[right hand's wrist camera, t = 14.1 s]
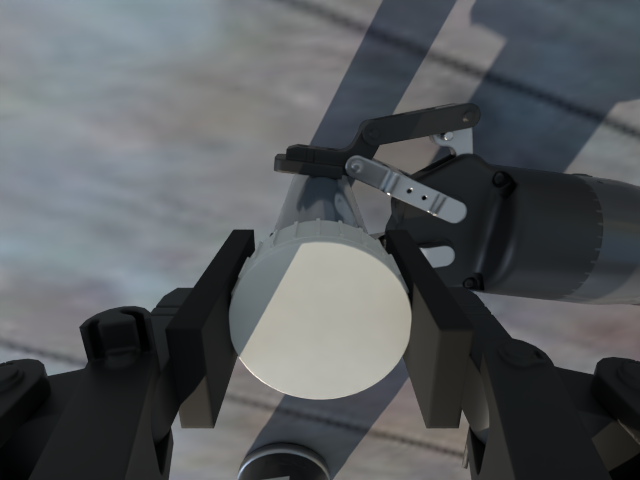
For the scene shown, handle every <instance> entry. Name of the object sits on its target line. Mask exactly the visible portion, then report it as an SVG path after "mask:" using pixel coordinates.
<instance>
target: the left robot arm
mask: <svg viewBox="0 0 640 480" xmlns="http://www.w3.org/2000/svg"><path fill="white" fill-rule="evenodd" d="M479 119H480V109H479V108H478V106H476V105H475V104H472V103H456V104H448V105H442V106H437V107H432V108H427V109H421V110H416V111H411V112H406V113H401V114H395V115H390V116H385V117H380V118H374V119H369V120H365V121H364V122H362V123H361V125H360V126H359V131H358V132H357V134H356V136H355V138H354V140H353V142H352V143H351V145H350V146H348V147H347V148H344V149H333V148H325V147H318V146H310V145H302V144H296V145H293V146H289V147H288V148H287V152H286V154H277V155H276V156H275V162H274V171H277V172H283V173H291V174H299V175H307V176H316V177H326V178H332V179H340V180H342V175H346V176H350V177H352V178H354V179H357V180H359V181H361V182H364V183H366V184H368V185H370V186H373V187H375V188H377V189H379V190H381V191H383V192H384V193H386V194H388V195H390V196H392V198H391V210H392V215H391V217H390V219H389V221H388V223H387V225H386V229H385V232H383V233H377V234H371V235H370V236H371V237H372V238H373V239H375V240H376V239H378V240H379V241H380V243H381V245H382V247H383V248H384V249H385V248H386V243H385V242H386V232H387V230H407V231H408V232H409V234H410V235H411V237H412V238H413V239H414V241H415V242H416V244H417V245H418V247H419V248H420V250H421V251H422V252H423V254H424V255H425V257H426V258H427V260H428V261H429V263H430V264H431V265H432V267H433V268H434V270H435V271H436V273H437V274H438V276H439V277H440V278H441V280H442V281H443V283H444V284H445V286H446V287H464V288H466V289H468V290H473V291H477V292H482V293H490V294H499V295H508V296H517V297H527V298H536V299H545V300H555V301H564V302H572V303H581V304H594V305H605V304H631V305H640V187H639V186H635V185H632V184H628V183H625V182H621V181H616V180H610V179H603V178H595V177H592V176H589V175H587V174H564V173H556V172H548V171H540V170H532V169H524V168H516V167H508V166H500V165H492V164H489V163H487V162H485V161H484V160H483V159H482V158H481V157H479V156H478V155H475V154H473V135H472V127H473V126H475V125H476V124H477V123H478V121H479ZM425 136H429V139H430V141H431V142H432V143H434V144H436V145H439V146H447V147H448V148H449V149H450V152H451V154H450V155H448V156H446V157H444V158H442V159H441V160H439V161H437V162H435V163H433V164H431V165H429V166H427V167H425V168H424V169H422V170H420V171H418V172H416V173H414V174H412V175H411V174H409V173H407V172H404V171H402V170H400V169H398V168H396V167H393V166H391V165H389V164H386V163H383V162H381V161H379V160H376V159H374V158H373V156H374V155H375V153H376V151H377V149H378V147H379V146H380V145H382V144H387V143H393V142H398V141H404V140H409V139H414V138H420V137H425ZM272 234H273V233H271V235H272ZM271 235H270V236H271ZM237 480H330V471H329V468H328V466H327V464H326V463H325V461H324V460H323V459H322V458H321V457H320V456H319V455H318V454H316V453H315V452H313V451H312V450H310V449H308V448H305V447H302V446H299V445H294V444H285V443H281V444H272V445H267V446H264V447H261V448H259V449H257V450H255V451H253V452H252V453H250V454H249V455H248V456H247V457H246V458H245V459H244V461H243V462H242V464H241V466H240V469H239V473H238V478H237Z"/></svg>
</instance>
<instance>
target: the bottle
mask: <svg viewBox="0 0 640 480" xmlns="http://www.w3.org/2000/svg"><path fill="white" fill-rule="evenodd" d="M317 218H320V221H334V222H338V221H339V220H340V221H342V223H343V224H347V225H350V226H352V227H355V228H357V229H359V227H360V228H362V229H363V232H365V233H366V234H368V233H367V230H366V227H365V225H364V222H363V219H362V216H361V214H360V211H359V208H358V206H357V203H356V200H355V198H354V195H353V192H352V190H351V187H350V184H349V181H348V179H347V176H346V175H342V180H340V179H332V178H326V177H316V176H307V175H299V174H295V175H294V177H293V180H292V183H291V185H290V188H289V191H288V194H287V196H286V199H285V202H284V204H283V207H282V210H281V213H280V215H279V218H278V221H277V224H276V226H275V229H274V231H275V230H277V229H278V230H279V231H280V230H282V229H283V228H286V227H288V226H291V225H294V223H295V222H297V221H298V223H302V222H306V221H316V219H317ZM273 234H274V232H273ZM273 234H272V235H273Z"/></svg>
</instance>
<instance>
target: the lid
mask: <svg viewBox="0 0 640 480" xmlns="http://www.w3.org/2000/svg"><path fill="white" fill-rule="evenodd" d="M238 277H239V278H238V280H237V282H236V284H235V287H234V289H233V291H232V293H231V297H232V299H231V303H230V307H229V324H230V334H231V341H232V343H233V346H234V348H235V351H236V352H237V354H238V356H239V358H240V359H241V361H242V362H243V363H244V365H245V366H246V367H247V368H248V369H249V370H250V372H251V373H252V374H253V375H255V376H256V377H257V378H258V379H260V380H261V381H262V382H264V383H265V384H267V385H269V386H270V387H272V388H274V389H276V390H278V391H280V392H283V393H286V394H289V395H292V396H296V397H301V398H308V399H334V398H340V397H345V396H349V395H352V394H355V393H358V392H360V391H362V390H365V389H367V388H369V387H370V386H372V385H374V384H376V383H377V382H378V381H380V380H381V379H383V378H384V377H385V376H386V375H387V374H388V373H389V372H390V371H391V370H392V369H393V368H394V367H395V366H396V364H397V363H398V362H399V361H400V359H401V357H402V356H403V354H404V352H405V350H406V348H407V345H408V343H409V338H410V329H411V318H412V308H411V303H410V300H409V297H408V294H407V293H409V290H408V288H407V286H406V283H405V281H404V279H403V277H402V275H401V273H400V271H399V268H398V266H397V264H396V262H395V260H394V258H393V256H392V254H389V255H388V253H387V252H386V251H385V249H384V248H383V247H382V245H381V243H380V241H379V240H378V239H376V240H375V239H373V238H372V237H371V236H370V235H368V234H366V233H365V232H363V229H362V228H360V227H359V229H357V228H355V227H352V226H350V225H347V224H343V223H342V221H340V220H339V221H338V222H334V221H320V218H317V219H316V221H306V222H302V223H298V221H297V222H295V223H294V225H291V226H288V227H286V228H283V229H282V230H280V231H279V230H278V229H277V230H275V231H274V234H273V235H271V236H270V237H269V238H267V239H266V240H265V241H264V242H263V243H262V242H261V241H260V242H259V243H258V245H257V247H256V250H255V252H254V253H253V254H252V256H251V257H250V258H249V257H247V259H246V261H245V263H244V265H243V267H242V269H241V271H240V274H239V276H238Z"/></svg>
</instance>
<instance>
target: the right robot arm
mask: <svg viewBox="0 0 640 480" xmlns="http://www.w3.org/2000/svg"><path fill="white" fill-rule="evenodd" d="M385 251H386V252H387V253H388V255H389V254H392V256H393V258H394V260H395V262H396V264H397V266H398V268H399V271H400V273H401V275H402V277H403V279H404V281H405V283H406V286H407V288H408V290H409V293H407V294H408V297H409V300H410V303H411V308H412V318H411V329H410V338H409V343H408V345H407V348H406V350H405V352H404V354H403V358H404V361H405V364H406V367H407V370H408V373H409V376H410V379H411V382H412V385H413V388H414V391H415V395H416V398H417V401H418V404H419V407H420V410H421V413H422V416H423V419H424V422H425V425H426V428H459V424H460V418H461V412H462V410H463V412H464V414H465V416H466V418H467V420H468V423H469V430H468V435H467V441H466V446H465V452H464V457H463V464H462V468H466V469H467V467H468V462H469V465H470V472H471V480H640V362H639V361H635V360H632V359H627V358H617V357H610V358H603V359H602V360H600V361H599V362H598V363H597V365H596V368H595V372H594V375H593V374H588V373H583V372H578V371H573V370H568V369H563V368H559V367H555V366H554V364H553V362H552V361H551V359H550V358H549V357H548V356H547V354H546V353H544V352H543V351H542V350H540V349H539V348H537V347H536V346H534V345H531V344H529V343H527V342H524V341H521V340H517V339H513V338H511V336H510V335H509V334H508V333H507V331H506V330H505V329H504V328H503V327H502V325H501V324H500V323H499V322H498V320H497V319H496V318H495V317H494V316H493V315H491V312H490V311H489V310H488V308H487V307H485V306H484V303H483V302H482V301H481V300H480V299H479V297H478V296H477V295H476V294H474V293H473V292H471V291H469V290H468V289H466V288H464V287H446V286H445V284H444V283H443V281H442V280H441V278H440V277H439V276H438V274H437V273H436V271H435V270H434V268H433V267H432V265H431V264H430V263H429V261H428V260H427V258H426V257H425V255H424V254H423V252H422V251H421V250H420V248H419V247H418V245H417V244H416V242H415V241H414V239H413V238H412V237H411V235H410V234H409V232H408V231H407V230H387V232H386V248H385ZM254 252H255V242H254V230H233V231H232V233H231V234H230V236H229V237H228V239H227V240H226V241H225V243H224V244H223V246H222V247H221V249H220V250H219V252H218V253H217V254H216V256H215V257H214V259H213V260H212V262H211V263H210V265H209V266H208V267H207V269H206V270H205V272H204V273H203V275H202V276H201V278H200V279H199V281H198V282H197V283H196V285H195V286H194V288H177V289H175V290H173V291H172V292H170V293H168V294H167V295H165V296H164V297H163V298H162V299H161V301H160V302H159V303H158V304H157V305H156V308H154V309H153V310H152V312H151V313H150V312H149V311H148V310H146V309H145V308H141V307H137V306H125V307H118V308H113V309H109V310H106V311H104V312H101V313H98V314H96V315H94V316H93V317H91V318H89V319H87V320H86V321H85V322H84V323H83V324H82V325H81V326H80V327H79V328H80V332H81V336H82V340H83V343H84V347H85V351H86V355H87V358H88V363H87V365H86V367H85V368H84V369H80V370H76V371H71V372H66V373H61V374H56V375H51V376H47V373H46V370H45V367H44V364H42V363H41V362H40V361H39V360H34V359H21V360H12V361H8V362H6V363H1V364H0V480H169V473H170V465H171V458H172V450H173V435H172V430H171V425H172V423H173V421H174V419H175V417H176V415H177V412H178V410H179V415H180V421H181V427H182V428H214V426H215V423H216V420H217V417H218V414H219V411H220V408H221V405H222V402H223V399H224V396H225V393H226V390H227V387H228V383H229V380H230V377H231V374H232V371H233V368H234V365H235V362H236V359H237V356H238V354H237V352H236V351H235V348H234V346H233V343H232V341H231V334H230V324H229V307H230V303H231V299H232V297H231V293H232V291H233V289H234V287H235V284H236V282H237V280H238V278H239V277H238V276H239V274H240V271H241V269H242V267H243V265H244V263H245V261H246V259H247V257H249V258H250V257H251V256H252V254H253V253H254Z"/></svg>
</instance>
